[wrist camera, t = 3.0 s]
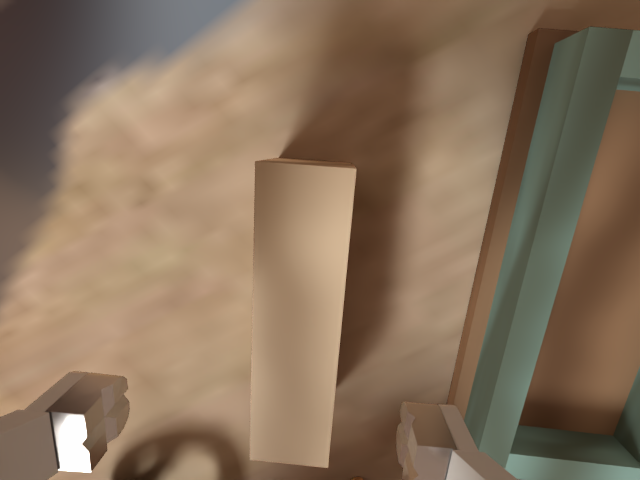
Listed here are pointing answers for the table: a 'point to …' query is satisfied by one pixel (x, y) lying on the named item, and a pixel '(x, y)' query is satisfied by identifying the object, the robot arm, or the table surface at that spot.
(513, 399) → the board
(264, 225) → the block
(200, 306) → the table surface
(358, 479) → the lion figurine
